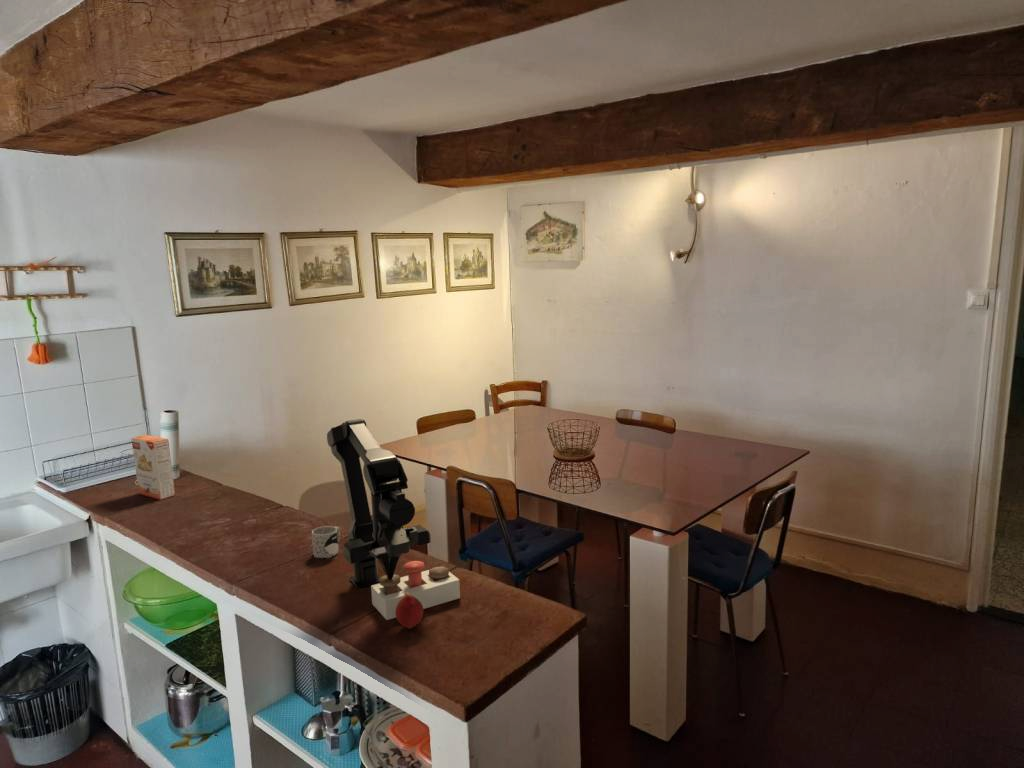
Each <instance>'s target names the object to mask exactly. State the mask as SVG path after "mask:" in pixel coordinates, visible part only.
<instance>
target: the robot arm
mask: <svg viewBox="0 0 1024 768" xmlns="http://www.w3.org/2000/svg"><path fill="white" fill-rule="evenodd" d="M326 441H327V445H328V447H330V450H331V451H330V452H331V453H332V455H333V456H334V457H335V458H336V460H337V461H338V462H339V463H340V467H341V471H342V476H343V482H344V485H345V491H346V496H347V503H348V506H349V507H348V509H349V511H350V512H349V513H350V518H351V522H350V526H349V528H348V531H347V541H345V542H344V544H343V545H342V553H343V555H344V559H345V560H346V561H347V562H348V563H349V564H350V565H353V566H352V567H353V576H349V580H350V582H351V583H352V584H353V585H354V586H355V587H356V588H357V589H361V588H366V587H368V586H372V585H375V584H379V583H380V578H381V577H382V576H380V575H379V573H378V572H379V571H378V563H377V562H379V564H380V566H381V568H382V570H383V572H384V574H385V575H386V576H387V578H388V579H389V580H390V579H392V578H393V575H394V574H395V571H396V568H397V564H398V561H399V559H400V558H401V556H402V555H403V554H405V555H406V554H408V553H410V549H411V546H414V545H417V546H423V545H428V544H430V543H432V540H431V539H432V538H431V532H430V531H429V530H427V529H426V528H425V527H423V526H422V525H420V524H417V525H412V526H409V527H404V526H406V525H408V524H410V522H411V521H412V520H413V519H414V517H415V514H416V508H415V506H414V504H413V502H412V501H411V500H410V499H408V498H406V493H404V492H403V491H402V490H405V489H408V488H409V487H408V486H409V485H408V476H407V474H406V471H405V470H404V467H403V464H402V463H401V461H400V459H398V457H397V456H396V455H395V454H394V453H393V452H392V451H390V450H389V449H384V448H382V447H381V446H380V444H379V443H378V442H377V440H376V438H375V437H374V436H373V434H372V433H371V432H370V430H369V429H368V426H367V422H366V420H365V419H362V418H357V419H352V420H351V419H350V420H346V421H345V422H342V423H341V424H340V425H337V426H333V427H331V428H330V429H329V431H328V432H327V433H326ZM360 459H361V460H360ZM361 461H362V462H363V468H362V464H361ZM365 482H366V484H367V486H368V488H369V491H370V497H371V498H370V500H371V511H370V505H369V501H368V495H367V491H366V484H365Z"/></svg>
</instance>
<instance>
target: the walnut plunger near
mask: <svg viewBox="0 0 1024 768" xmlns="http://www.w3.org/2000/svg"><path fill="white" fill-rule="evenodd" d="M380 577H381V578H380V585H381V586H384V595H385V596H386V595H389V594H393V593H396V592H398V590H397V584H399V583H400V578H401V576H400V575H398V574H395V573H394V575H393V578H392V579H390V580H389V579H388V578H387V576H386V574H385V575H382V576H380Z"/></svg>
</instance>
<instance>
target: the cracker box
mask: <svg viewBox="0 0 1024 768" xmlns="http://www.w3.org/2000/svg"><path fill="white" fill-rule="evenodd" d="M130 439H131V445H132V453H133V460H134V468H135V474H136V475H135V476H136V483H137V488H138V489H137V491H138V494H139V495H142V496H146V497H148V498H153V499H156V500H160V501H162V500H165V499H168V498H171V497H174V496H176V491H175V482H174V475H173V466H172V458H171V451H170V443H169V438H166V437H165V438H164V437H160V436H155V435H150V434H144V435H143V434H142V435H138V436H134V437H131V438H130Z"/></svg>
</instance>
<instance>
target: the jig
mask: <svg viewBox="0 0 1024 768" xmlns="http://www.w3.org/2000/svg"><path fill="white" fill-rule="evenodd" d="M440 567H444V566H443V565H442V566H440ZM429 570H430V569H427V570H422V571H421V575H422V585H421V586H417V587H414V588H409V579H408V575H404V576H400V583H399V584H397V590H398V592H396V593H393V594H389V595H386V596H385V595H384V586H381V585H380V583H377V584H373V585H370V592H371V604H372V606H373V607H374V608H375V609H376V610H377V611H378V612H379V613H380V615H381V616H382V617H383V618H384V619H385V621H389V620H392V619H395V618H396V614H395V612H396V607H397V605H398V603H399V601H400V600H401V599H402V598H404V597H405V593H409V594H410V595H412V596H414V597H415V598H416V599H418V600H419V601H420V602H421V604H422V606H423V610H425V609H428V608H431V607H434V606H438V605H441V604H445V603H448V602H450V601H454V600H458V599H460V598H461V589H460V578H458V577H457V576H455V575H454V574H453V573H452V572H450V571H449V574H448V576H446V579H442V580H439V581H433V578H432V577H430V576H429Z"/></svg>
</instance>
